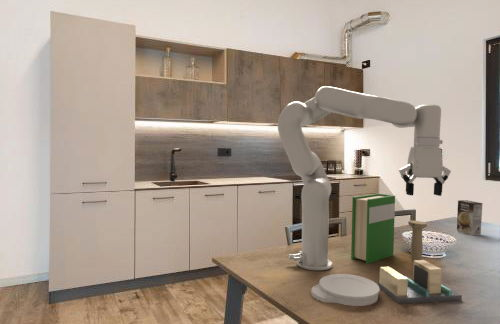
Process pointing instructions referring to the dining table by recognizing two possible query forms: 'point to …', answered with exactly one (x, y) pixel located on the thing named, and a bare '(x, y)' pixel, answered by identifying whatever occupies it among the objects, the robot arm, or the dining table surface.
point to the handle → (416, 239)
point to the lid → (346, 290)
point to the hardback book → (373, 227)
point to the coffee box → (469, 217)
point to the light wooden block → (427, 276)
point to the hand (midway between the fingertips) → (423, 195)
